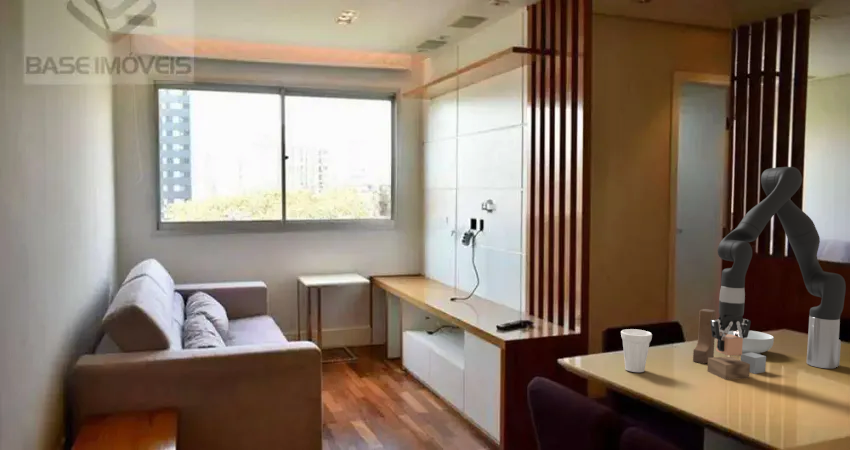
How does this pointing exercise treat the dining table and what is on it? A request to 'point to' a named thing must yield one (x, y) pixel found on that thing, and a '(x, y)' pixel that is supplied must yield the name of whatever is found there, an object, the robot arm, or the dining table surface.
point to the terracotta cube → (732, 345)
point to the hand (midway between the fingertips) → (728, 350)
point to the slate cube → (754, 362)
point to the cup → (635, 348)
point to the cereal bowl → (756, 342)
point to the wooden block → (705, 337)
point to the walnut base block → (728, 368)
